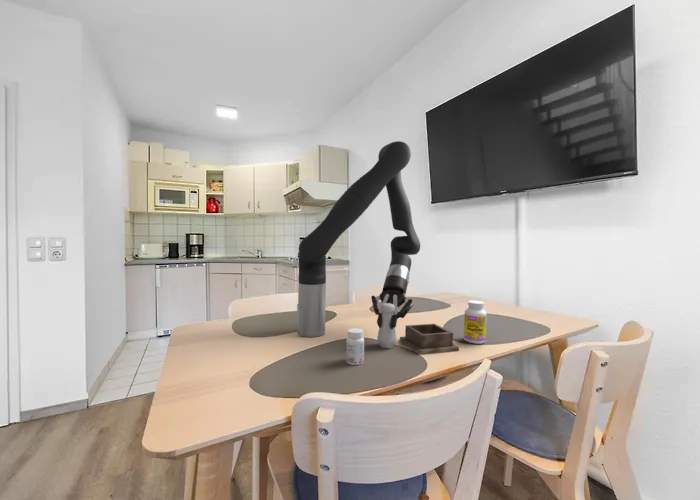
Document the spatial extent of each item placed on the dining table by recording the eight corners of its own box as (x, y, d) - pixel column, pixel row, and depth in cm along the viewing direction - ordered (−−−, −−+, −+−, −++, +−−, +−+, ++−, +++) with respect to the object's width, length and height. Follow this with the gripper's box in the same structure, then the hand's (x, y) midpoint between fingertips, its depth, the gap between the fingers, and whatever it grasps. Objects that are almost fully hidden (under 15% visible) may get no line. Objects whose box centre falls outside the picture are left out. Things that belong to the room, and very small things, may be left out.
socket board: (419, 354, 90) (420, 337, 90) (399, 339, 103) (400, 324, 103) (458, 350, 94) (459, 333, 94) (435, 337, 107) (435, 322, 106)
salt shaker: (395, 350, 93) (396, 306, 93) (376, 348, 94) (377, 305, 94) (396, 343, 99) (397, 302, 98) (378, 342, 100) (379, 301, 100)
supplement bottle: (462, 342, 102) (464, 302, 101) (463, 336, 108) (465, 299, 107) (485, 345, 99) (487, 304, 98) (485, 339, 105) (486, 300, 105)
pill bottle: (359, 357, 87) (360, 327, 87) (366, 364, 83) (367, 332, 83) (343, 359, 86) (344, 328, 85) (349, 366, 81) (350, 333, 81)
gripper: (374, 272, 105) (360, 317, 94) (416, 275, 100) (407, 323, 89) (378, 286, 110) (366, 330, 100) (419, 289, 105) (410, 336, 94)
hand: (385, 326), depth 94 cm, fingers closed on salt shaker, 3 cm apart
